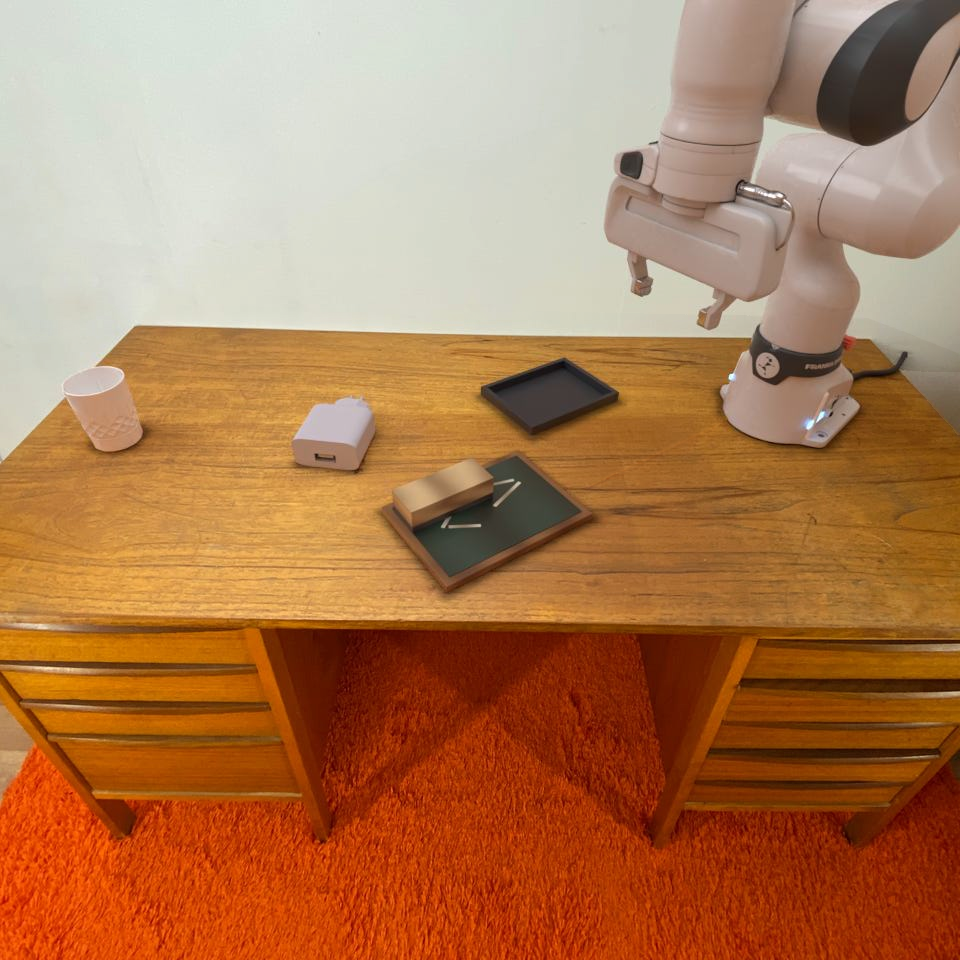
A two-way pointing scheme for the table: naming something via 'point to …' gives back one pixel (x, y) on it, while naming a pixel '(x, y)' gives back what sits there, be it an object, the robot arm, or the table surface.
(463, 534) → the board
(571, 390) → the tray
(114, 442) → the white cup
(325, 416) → the charger
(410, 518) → the eraser
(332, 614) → the table surface
